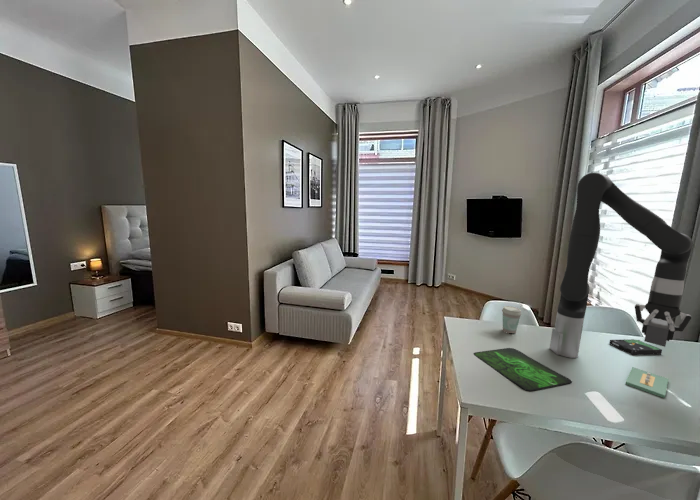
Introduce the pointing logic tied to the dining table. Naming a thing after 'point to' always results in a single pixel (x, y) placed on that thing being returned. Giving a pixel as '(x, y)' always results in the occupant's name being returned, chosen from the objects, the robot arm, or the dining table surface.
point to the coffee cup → (510, 318)
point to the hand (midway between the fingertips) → (656, 337)
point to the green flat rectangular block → (647, 382)
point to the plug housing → (657, 332)
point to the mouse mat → (522, 369)
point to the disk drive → (635, 347)
